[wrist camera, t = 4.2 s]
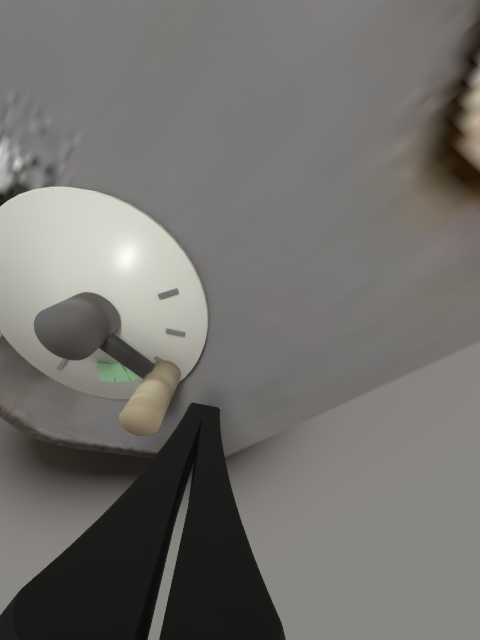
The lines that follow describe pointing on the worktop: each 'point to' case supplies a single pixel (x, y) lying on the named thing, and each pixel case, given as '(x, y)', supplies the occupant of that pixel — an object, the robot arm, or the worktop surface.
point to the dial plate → (98, 283)
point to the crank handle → (99, 332)
